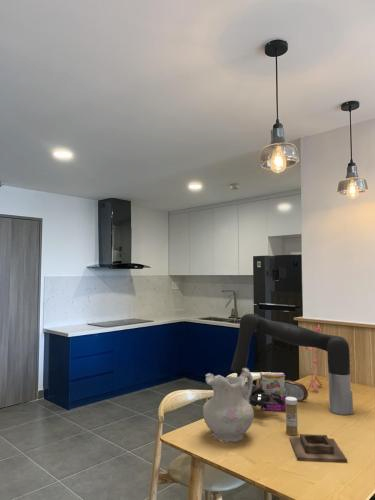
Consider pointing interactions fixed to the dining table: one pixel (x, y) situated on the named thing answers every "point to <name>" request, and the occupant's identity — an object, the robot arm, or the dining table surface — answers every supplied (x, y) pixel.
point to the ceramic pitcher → (229, 407)
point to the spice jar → (291, 415)
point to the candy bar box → (273, 389)
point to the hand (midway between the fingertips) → (274, 404)
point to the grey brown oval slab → (296, 390)
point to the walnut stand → (316, 448)
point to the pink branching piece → (315, 363)
